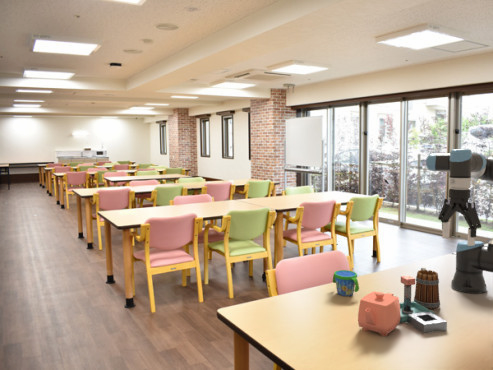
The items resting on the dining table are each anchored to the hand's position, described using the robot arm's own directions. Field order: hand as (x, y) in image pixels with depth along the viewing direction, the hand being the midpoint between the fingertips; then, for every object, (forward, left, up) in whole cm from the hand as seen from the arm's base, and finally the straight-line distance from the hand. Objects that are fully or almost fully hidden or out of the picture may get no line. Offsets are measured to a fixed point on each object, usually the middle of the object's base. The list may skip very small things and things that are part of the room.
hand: (457, 241), depth 163 cm
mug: (+1, -17, -32) cm, 36 cm away
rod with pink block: (+16, -9, -31) cm, 36 cm away
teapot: (+35, 0, -32) cm, 47 cm away
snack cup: (+29, -38, -32) cm, 57 cm away
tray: (+16, -9, -32) cm, 37 cm away
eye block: (+16, +3, -32) cm, 36 cm away
